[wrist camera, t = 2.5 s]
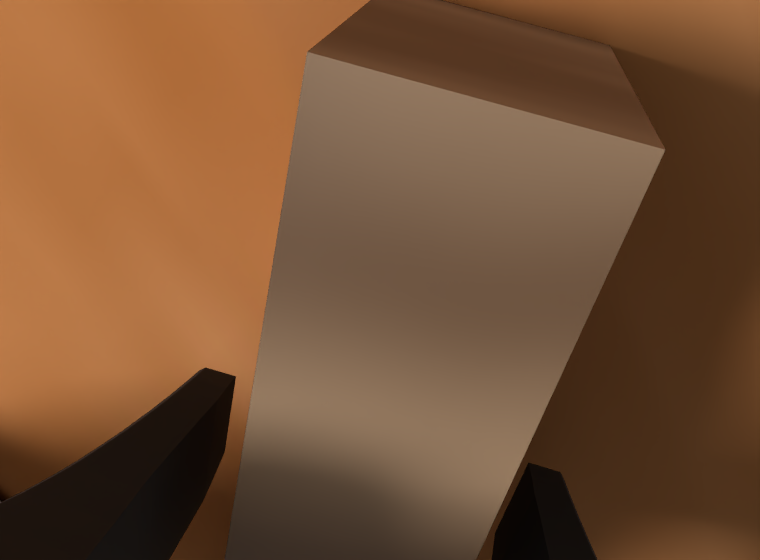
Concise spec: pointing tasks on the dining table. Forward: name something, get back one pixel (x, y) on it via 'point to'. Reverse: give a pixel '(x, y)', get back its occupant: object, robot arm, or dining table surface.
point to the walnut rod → (429, 276)
